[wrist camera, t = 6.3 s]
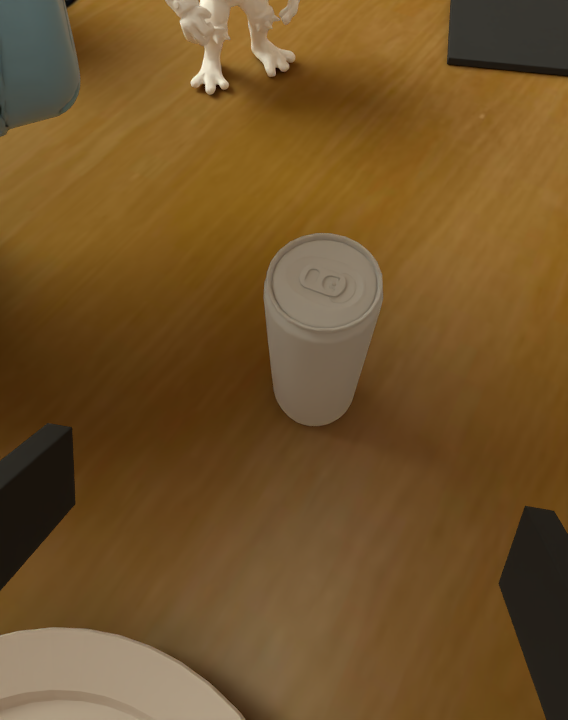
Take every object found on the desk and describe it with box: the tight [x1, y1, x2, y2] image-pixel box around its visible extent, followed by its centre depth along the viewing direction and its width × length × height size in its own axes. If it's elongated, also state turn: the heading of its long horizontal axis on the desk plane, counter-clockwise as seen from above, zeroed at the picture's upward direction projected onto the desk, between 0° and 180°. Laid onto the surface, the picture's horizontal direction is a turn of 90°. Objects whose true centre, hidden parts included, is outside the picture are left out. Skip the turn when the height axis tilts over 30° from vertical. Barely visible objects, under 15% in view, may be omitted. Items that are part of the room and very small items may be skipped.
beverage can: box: [264, 233, 383, 426], centre depth 25 cm, size 5×5×12 cm
